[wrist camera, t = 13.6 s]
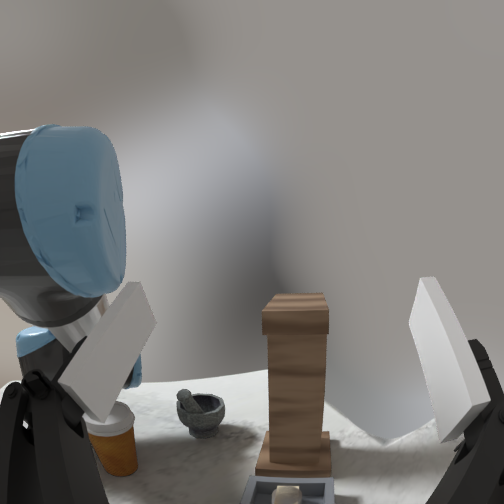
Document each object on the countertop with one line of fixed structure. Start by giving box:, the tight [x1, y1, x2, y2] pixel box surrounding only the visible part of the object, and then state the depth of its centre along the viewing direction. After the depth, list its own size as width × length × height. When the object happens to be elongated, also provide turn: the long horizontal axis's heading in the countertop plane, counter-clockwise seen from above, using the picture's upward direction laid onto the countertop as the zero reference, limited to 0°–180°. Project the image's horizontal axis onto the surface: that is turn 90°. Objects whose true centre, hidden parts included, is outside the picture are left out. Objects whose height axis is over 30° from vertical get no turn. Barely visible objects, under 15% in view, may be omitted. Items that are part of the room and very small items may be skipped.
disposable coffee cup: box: [82, 401, 138, 476], centre depth 36 cm, size 10×10×12 cm
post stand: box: [255, 293, 331, 478], centre depth 42 cm, size 16×12×29 cm
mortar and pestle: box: [177, 389, 225, 438], centre depth 51 cm, size 11×9×12 cm
